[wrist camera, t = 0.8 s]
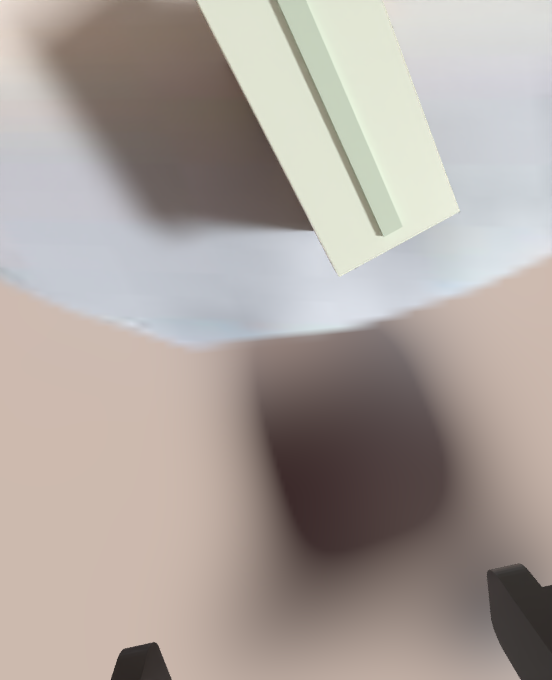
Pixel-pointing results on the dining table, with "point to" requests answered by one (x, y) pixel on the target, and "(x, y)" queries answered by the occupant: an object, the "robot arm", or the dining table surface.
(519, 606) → the robot arm
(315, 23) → the lid
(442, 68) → the dining table surface
